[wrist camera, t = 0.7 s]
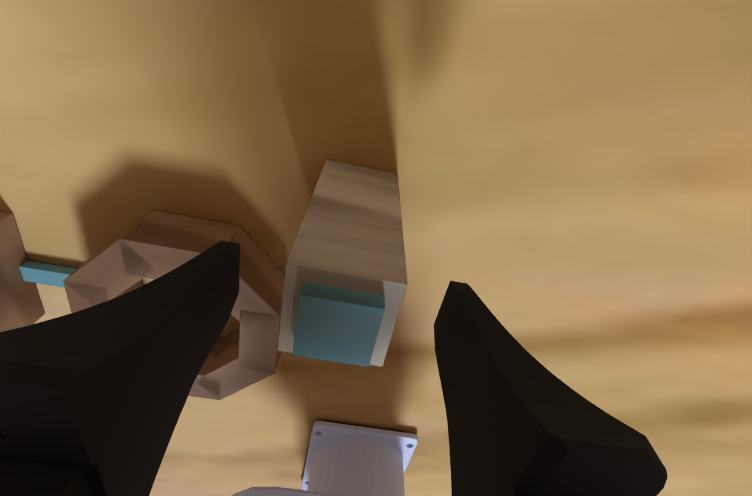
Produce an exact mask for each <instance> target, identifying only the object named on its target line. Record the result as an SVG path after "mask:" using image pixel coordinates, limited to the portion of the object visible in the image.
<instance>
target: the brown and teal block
mask: <svg viewBox="0 0 752 496" xmlns="http://www.w3.org/2000/svg"><path fill="white" fill-rule="evenodd" d="M406 287H407V274H406V263H405V252H404V240H403V229H402V218H401V206H400V195H399V184H398V174H397V173H392V172H387V171H382V170H377V169H372V168H367V167H362V166H357V165H352V164H347V163H342V162H337V161H332V160H327V159H326V162H325V164H324V167H323V169H322V172H321V174H320V177H319V180H318V182H317V185H316V187H315V190H314V192H313V195H312V198H311V200H310V203H309V205H308V208H307V211H306V213H305V216H304V218H303V221H302V223H301V226H300V229H299V231H298V234H297V236H296V239H295V241H294V244H293V247H292V249H291V252H290V254H289V257H288V260H287V262H286V269H285V279H284V289H283V300H282V310H281V320H280V331H279V341H278V351H283V352H290V353H292V356H299V357H306V358H312V359H319V360H325V361H332V362H338V363H345V364H351V365H358V366H364V367H369V365H374V366H381V367H382V366H383V363H384V360H385V356H386V353H387V350H388V347H389V343H390V340H391V337H392V333H393V330H394V327H395V324H396V320H397V317H398V314H399V310H400V307H401V304H402V301H403V297H404V294H405V291H406Z"/></svg>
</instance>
